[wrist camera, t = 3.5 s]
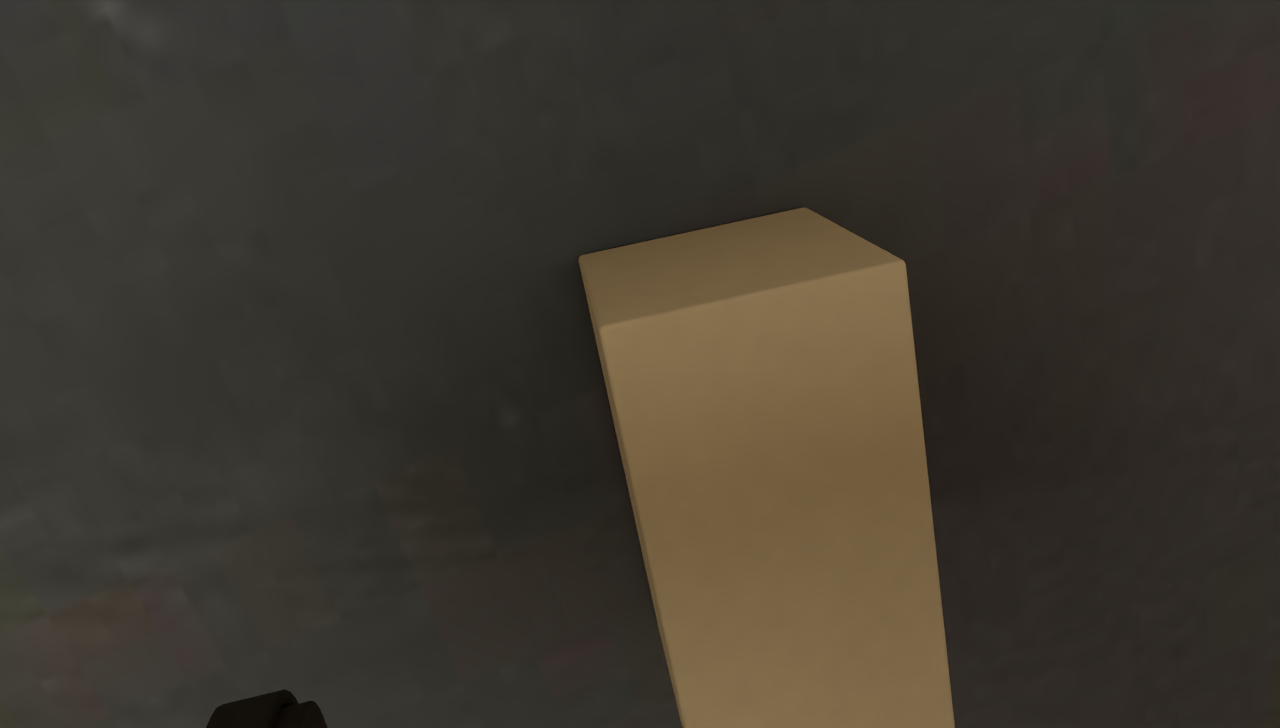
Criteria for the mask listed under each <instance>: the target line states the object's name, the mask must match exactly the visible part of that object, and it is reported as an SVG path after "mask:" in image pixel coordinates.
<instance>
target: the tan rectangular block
mask: <svg viewBox="0 0 1280 728" xmlns="http://www.w3.org/2000/svg"><path fill="white" fill-rule="evenodd" d="M578 261H579V265H580V270H581V274H582V279H583V284H584V288H585V293H586V297H587V302H588V307H589V311H590V316H591V320H592V325H593V330H594V334H595V339H596V343H597V348H598V353H599V357H600V362H601V366H602V371H603V376H604V380H605V385H606V389H607V394H608V399H609V403H610V408H611V412H612V417H613V422H614V426H615V431H616V435H617V440H618V444H619V449H620V454H621V458H622V463H623V467H624V472H625V477H626V481H627V486H628V490H629V495H630V500H631V504H632V509H633V513H634V518H635V523H636V527H637V532H638V536H639V541H640V546H641V550H642V555H643V559H644V564H645V569H646V573H647V578H648V582H649V587H650V592H651V596H652V601H653V605H654V610H655V614H656V619H657V624H658V628H659V632H660V636H661V640H662V645H663V649H664V653H665V657H666V661H667V665H668V670H669V674H670V678H671V682H672V686H673V690H674V694H675V699H676V703H677V707H678V711H679V715H680V719H681V724H682V728H955V724H954V715H953V706H952V696H951V687H950V677H949V668H948V659H947V649H946V640H945V630H944V621H943V612H942V602H941V593H940V583H939V574H938V564H937V555H936V546H935V536H934V527H933V517H932V508H931V499H930V489H929V480H928V470H927V461H926V451H925V442H924V433H923V423H922V414H921V404H920V395H919V386H918V376H917V367H916V357H915V348H914V339H913V329H912V320H911V310H910V301H909V291H908V282H907V273H906V264H905V262H904V261H903V260H902V259H900V258H898V257H896V256H894V255H892V254H890V253H889V252H887V251H885V250H883V249H881V248H879V247H878V246H876V245H874V244H872V243H870V242H868V241H867V240H865V239H863V238H861V237H859V236H857V235H855V234H854V233H852V232H850V231H848V230H846V229H844V228H843V227H841V226H839V225H837V224H835V223H833V222H832V221H830V220H828V219H826V218H824V217H822V216H821V215H819V214H817V213H815V212H813V211H811V210H809V209H808V208H804V207H803V208H798V209H794V210H789V211H784V212H780V213H775V214H771V215H766V216H761V217H757V218H752V219H747V220H743V221H738V222H733V223H729V224H724V225H719V226H715V227H710V228H705V229H701V230H696V231H692V232H687V233H682V234H678V235H673V236H668V237H664V238H659V239H654V240H650V241H645V242H640V243H636V244H631V245H627V246H622V247H617V248H613V249H608V250H603V251H599V252H594V253H589V254H585V255H581V256H580V257H579V260H578Z"/></svg>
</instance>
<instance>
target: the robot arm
mask: <svg viewBox="0 0 1280 728" xmlns="http://www.w3.org/2000/svg"><path fill="white" fill-rule="evenodd" d="M206 728H327V726H326V723H325V720H324V717H323V715H322V713H321V710H320V708H319V707H318V705H317V704H316V703H315V702H313V701H308V702H304V703H300V704H298V702H297V700H296V698H295V697H294V696H293V694H292V693H291V692H290V691H287V690H281V691H277V692H272V693H268V694H264V695H260V696H256V697H252V698H248V699H243V700H239V701H235V702H231V703H227V704H223V705H221V706H219V707H217V708H216V710H215V711H214V713H213V714H212V716H211V718H210V720H209V723H208V725H207V727H206Z"/></svg>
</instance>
